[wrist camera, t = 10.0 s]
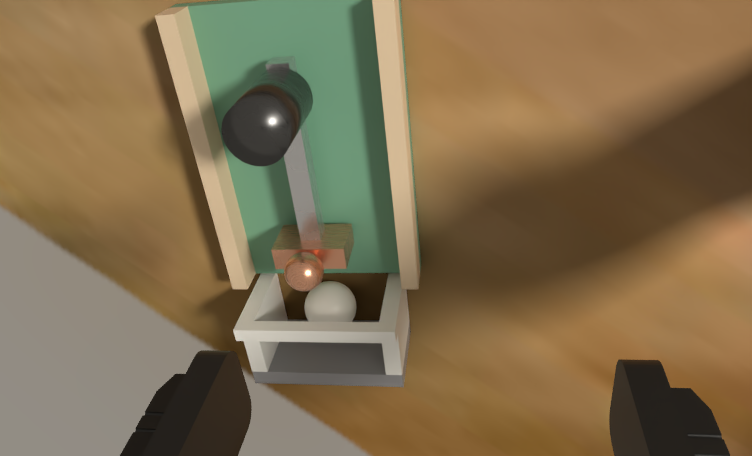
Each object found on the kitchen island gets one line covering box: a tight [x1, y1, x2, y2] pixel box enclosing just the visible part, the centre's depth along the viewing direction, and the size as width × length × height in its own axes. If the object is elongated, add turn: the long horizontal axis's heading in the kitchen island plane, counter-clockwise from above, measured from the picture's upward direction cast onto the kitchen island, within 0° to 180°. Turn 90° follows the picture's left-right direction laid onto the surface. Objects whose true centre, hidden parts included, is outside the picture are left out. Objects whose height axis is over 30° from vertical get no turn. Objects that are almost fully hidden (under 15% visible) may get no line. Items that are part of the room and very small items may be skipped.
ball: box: [304, 281, 357, 322], centre depth 47 cm, size 4×4×4 cm
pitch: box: [155, 0, 421, 289], centre depth 40 cm, size 14×20×3 cm
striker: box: [221, 56, 354, 292], centre depth 37 cm, size 5×14×8 cm, turn 6°
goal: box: [233, 273, 411, 387], centre depth 46 cm, size 11×6×7 cm, turn 96°
